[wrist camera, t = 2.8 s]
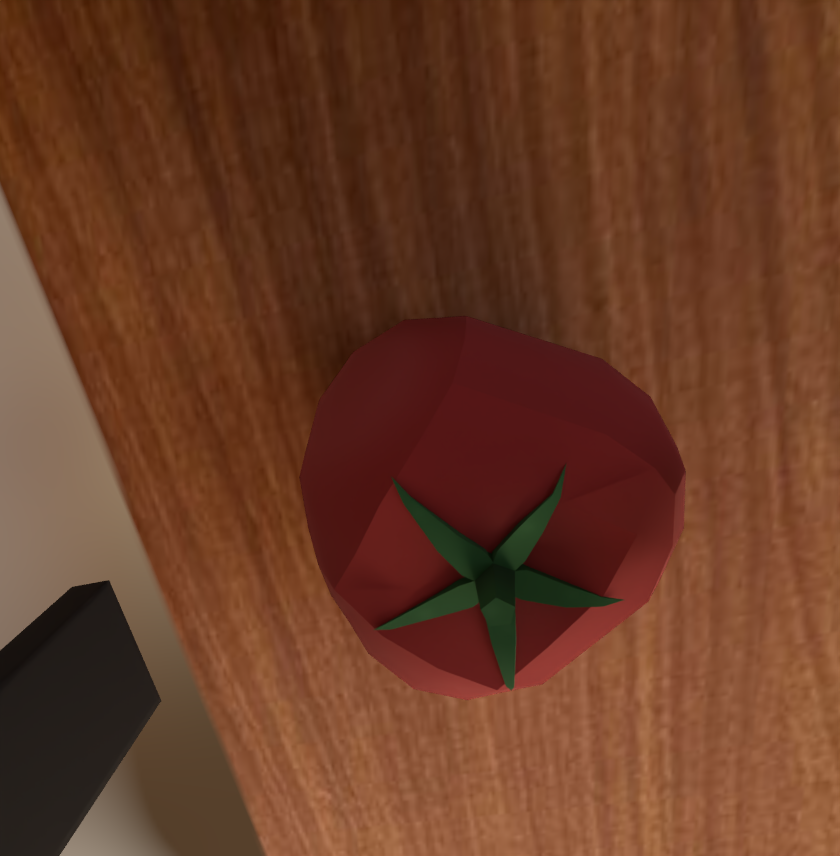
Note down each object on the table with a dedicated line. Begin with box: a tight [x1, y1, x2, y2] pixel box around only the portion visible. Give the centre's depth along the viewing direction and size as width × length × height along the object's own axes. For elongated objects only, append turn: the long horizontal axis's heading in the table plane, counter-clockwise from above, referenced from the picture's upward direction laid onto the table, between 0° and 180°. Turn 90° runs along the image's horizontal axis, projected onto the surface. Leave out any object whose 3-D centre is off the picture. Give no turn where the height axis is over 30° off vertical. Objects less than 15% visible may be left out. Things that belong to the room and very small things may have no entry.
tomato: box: [300, 316, 686, 700], centre depth 13 cm, size 8×8×7 cm
